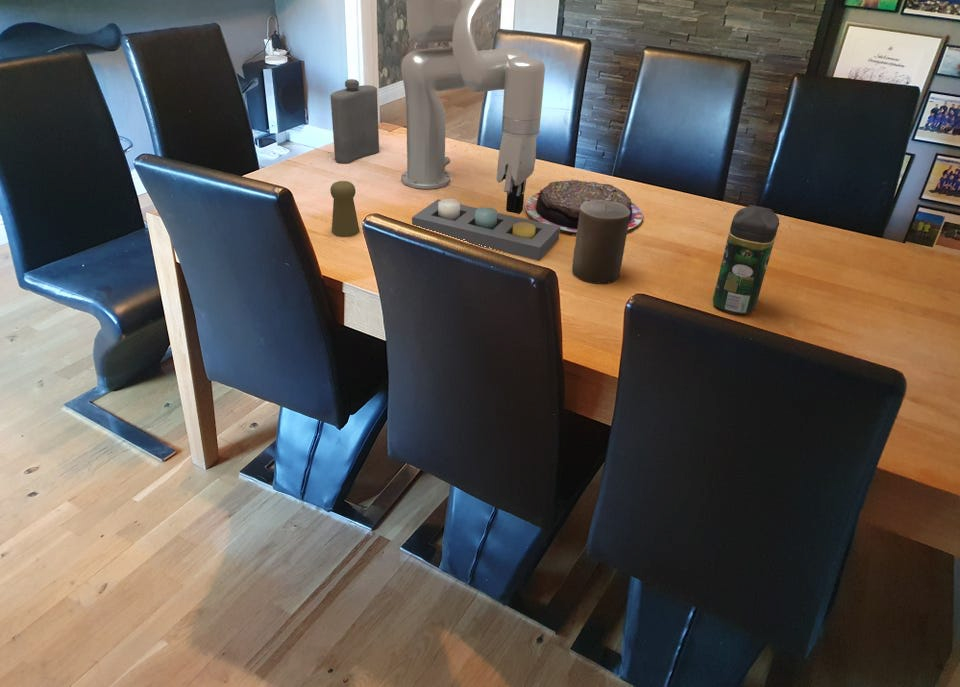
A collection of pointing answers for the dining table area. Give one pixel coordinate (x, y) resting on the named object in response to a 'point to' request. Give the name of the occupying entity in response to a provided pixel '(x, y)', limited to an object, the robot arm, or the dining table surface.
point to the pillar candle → (600, 241)
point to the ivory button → (449, 209)
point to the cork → (344, 210)
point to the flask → (355, 122)
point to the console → (490, 231)
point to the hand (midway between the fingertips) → (514, 211)
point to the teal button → (486, 217)
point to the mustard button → (524, 229)
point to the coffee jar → (745, 259)
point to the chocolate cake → (575, 203)
